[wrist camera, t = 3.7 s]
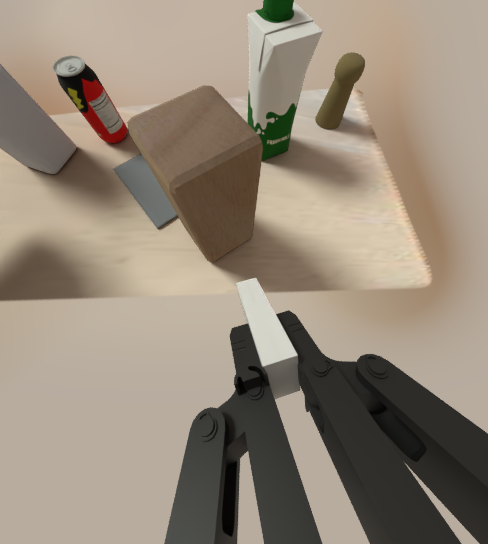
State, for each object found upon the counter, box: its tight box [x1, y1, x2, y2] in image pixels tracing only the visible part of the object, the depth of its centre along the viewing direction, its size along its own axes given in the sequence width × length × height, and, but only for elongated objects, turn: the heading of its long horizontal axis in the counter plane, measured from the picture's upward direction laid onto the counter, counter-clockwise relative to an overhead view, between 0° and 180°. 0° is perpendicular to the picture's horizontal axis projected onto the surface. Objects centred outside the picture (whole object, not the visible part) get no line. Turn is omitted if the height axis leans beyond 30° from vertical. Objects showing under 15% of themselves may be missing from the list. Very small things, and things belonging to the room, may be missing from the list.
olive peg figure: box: [316, 53, 365, 129], centre depth 39 cm, size 6×6×11 cm
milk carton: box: [248, 0, 322, 161], centre depth 32 cm, size 9×9×20 cm
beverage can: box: [53, 56, 127, 143], centre depth 37 cm, size 6×6×12 cm
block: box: [127, 86, 263, 262], centre depth 26 cm, size 10×10×20 cm
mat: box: [113, 154, 178, 229], centre depth 39 cm, size 18×18×1 cm
